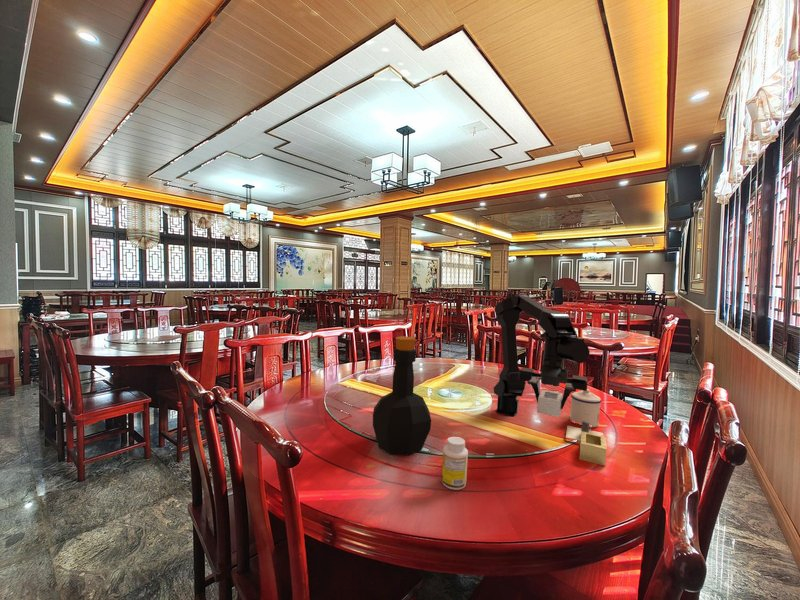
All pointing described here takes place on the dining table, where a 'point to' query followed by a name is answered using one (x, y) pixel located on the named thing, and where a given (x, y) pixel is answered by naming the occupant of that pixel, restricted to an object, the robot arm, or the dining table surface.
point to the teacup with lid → (585, 407)
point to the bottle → (402, 407)
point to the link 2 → (593, 448)
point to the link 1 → (550, 403)
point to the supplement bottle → (454, 464)
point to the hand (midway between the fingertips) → (549, 406)
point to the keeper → (579, 431)
